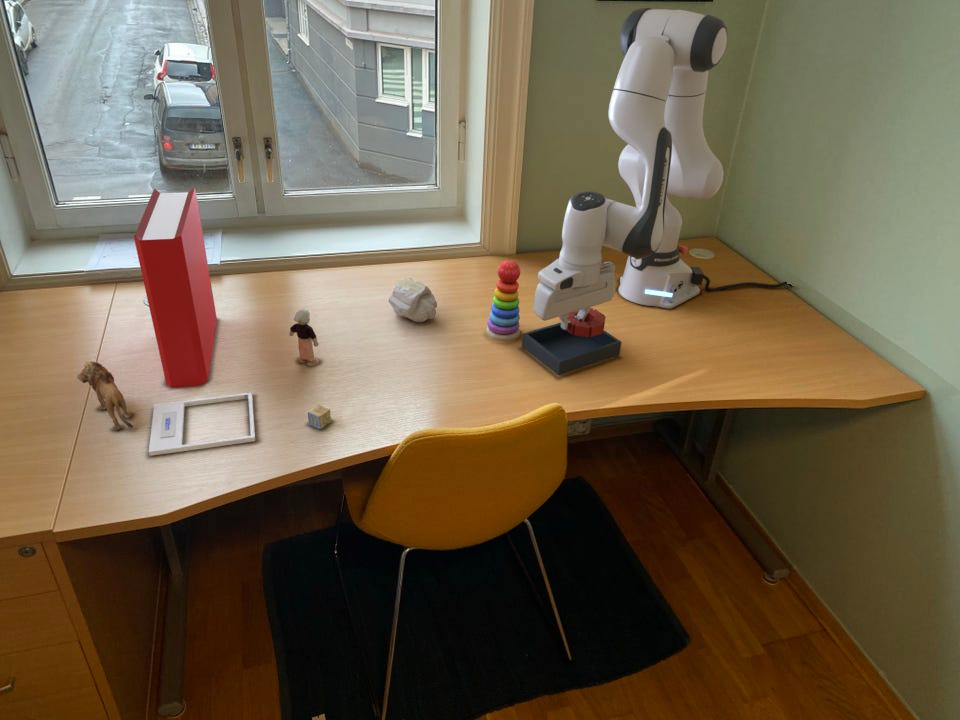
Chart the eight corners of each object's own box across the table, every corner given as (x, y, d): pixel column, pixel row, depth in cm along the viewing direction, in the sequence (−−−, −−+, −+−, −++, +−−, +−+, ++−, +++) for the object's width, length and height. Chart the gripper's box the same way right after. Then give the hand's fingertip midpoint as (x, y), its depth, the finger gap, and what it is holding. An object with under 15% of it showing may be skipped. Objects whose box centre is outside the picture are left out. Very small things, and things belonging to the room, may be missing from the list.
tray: (580, 331, 174) (582, 315, 172) (618, 357, 165) (621, 341, 163) (521, 349, 166) (522, 333, 164) (557, 378, 156) (559, 362, 154)
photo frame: (154, 403, 140) (251, 391, 144) (155, 408, 140) (252, 396, 145) (148, 450, 128) (254, 436, 133) (149, 455, 129) (255, 441, 133)
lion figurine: (82, 403, 141) (70, 364, 136) (109, 392, 144) (98, 353, 139) (120, 436, 133) (109, 396, 128) (148, 423, 136) (138, 383, 132)
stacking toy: (516, 346, 167) (523, 272, 157) (482, 341, 168) (487, 267, 158) (522, 329, 173) (528, 257, 163) (489, 324, 175) (494, 252, 165)
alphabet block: (308, 424, 139) (307, 411, 137) (319, 416, 141) (318, 403, 139) (320, 430, 137) (319, 417, 136) (331, 422, 140) (330, 409, 138)
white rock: (430, 330, 171) (441, 314, 180) (434, 298, 167) (445, 283, 176) (381, 319, 173) (394, 303, 181) (384, 287, 169) (397, 272, 177)
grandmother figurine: (326, 360, 158) (323, 308, 151) (317, 369, 155) (313, 317, 148) (295, 352, 160) (290, 301, 153) (286, 361, 157) (280, 309, 150)
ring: (585, 312, 169) (587, 303, 168) (612, 330, 163) (613, 321, 161) (554, 322, 165) (555, 312, 163) (580, 340, 158) (581, 331, 157)
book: (180, 322, 168) (154, 188, 151) (217, 319, 170) (195, 187, 153) (165, 388, 146) (132, 240, 129) (207, 385, 148) (180, 238, 131)
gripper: (606, 254, 161) (598, 308, 168) (531, 273, 151) (526, 330, 159) (625, 265, 157) (616, 320, 164) (550, 286, 147) (544, 344, 154)
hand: (571, 326), depth 161 cm, fingers closed on ring, 2 cm apart
